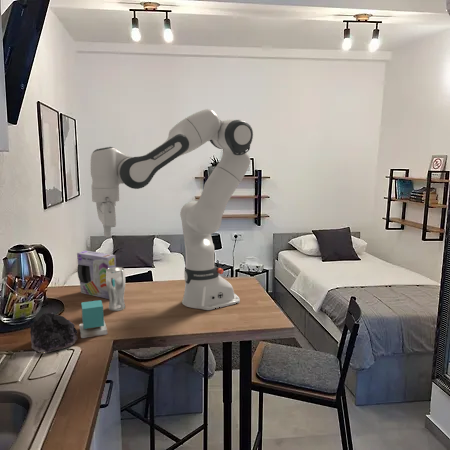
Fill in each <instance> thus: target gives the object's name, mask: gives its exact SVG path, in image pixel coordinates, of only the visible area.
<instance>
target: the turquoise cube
mask: <svg viewBox="0 0 450 450" xmlns="http://www.w3.org/2000/svg"><path fill="white" fill-rule="evenodd" d="M80 304H81V320H82V324H83V328H84V329H87V328H94V327H100V326H104V321H105V319H104V317H105V316H104V315H105V314H104V305H103V301H102V300H101V299H100V300H93V301H92V300H89V301H84V302H81V303H80Z"/></svg>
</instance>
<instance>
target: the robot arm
mask: <svg viewBox="0 0 450 450" xmlns="http://www.w3.org/2000/svg"><path fill="white" fill-rule="evenodd" d="M253 137H254V131H253V128H252V127H251V125H250V124H249V123H248V122H246V121H245V120H242V119H227V120H225V119H224V120H221V118H219V116H218V113H216V112H215V111H214V110H212V109H209V108H205V109H202V110H199V111H196V112H195V113H193V114H191V115H189V116H187V117H185V118H183V119H182V120H180V121H179V122H177V124H175V125H174V126H173V127H172V128H171V129H170V130H169V132H168V137H167V139H166V140H165V141H164V142H163V143H162V144H160V145H158V146H157V147H156V148H154V149H152V150H151V151H149V152H148V153H147V154H144V155H141V156H130V155H129V154H128V155H127V154H126V153H123V152H121V151H119V150H118V149H116V148H115V147H113V146H107V147H101V148H96V149H95V150H93V151H92V153H91V155H90V177H91V179H92V181H91V182H92V184H91V202H93V203H95V204H96V211H97V217H98V220H99V221H100V222H101V224H102V226H103V233H104V236H105V238H111V234H112V231H111V230H112V228H115V227H116V226H117V219H116V217H117V216H116V204H117V202H120V186H119V185H121V184H122V185H125V186H126V187H128V188H131V189H135V190H139V189H142V188H143V189H144V187H146V186H148V184H150V182H151V181H152V180H153V178H154V176H155V175H156V174H157V172H158V171H160V170H161V169H162V168H164V167H165V166H167V165H168V164H169V163H171V162H173V161H175V160H176V159H177V158H178V157H181V156H184V155H185V154H186V155H187V154H189V153H190V152H192V151H195V150H197V149H198V148H200V147H201V146H203V145H204V144H206V143H207V142H210V143H211V144H212V145H213V147H215V148H217V149H220V150H222V156H221V158H220V160H219V162H218V163H217V165H216V166H215V167H214V169H213V170H212V172H211V173H210V175H209V176H208V178H207V180H206V181H205V182H204V185H203V190H202V192H201V194H200V196H199V199H198V200H197V201H196V200H192V201H189V202H187V203H185V204H184V205H182V206H181V209H180V214H179V216H180V220H181V227H182V235H183V240H184V246H185V247H184V248H185V249H184V250H185V267H184V274H183V275H184V282H185V283H184V284H185V286H184V291H183V297H182V301H181V303H182V305H184V307H188V308H192V309H199V310H204V311H212V310H215V308H216V309H219V307H220V308H223V307H227V306H232V305H236V303H237V304H240V302H241V301H240V300H241V299H240V297H239V296H238V295H237V294H236V293H235V291H234V287H233V285H232V284H231V283H230V282H229V281H228V280H227V279H225V278H223V276H222V275H223V274H224V271H225V270H224V269H223V268H221V267H217V266H216V265H215V244H214V243H213V238H212V234H214V233H216V232H218V231H219V229H220V228H221V226H222V219H223V215H224V213H225V210H226V208H227V205H228V203H229V201H230V199H231V198H232V197H233V194H234V193H235V191H236V190H237V188H238V186H239V185H240V184H241V182H242V180H243V179H244V178H245V176H246V174H247V172H248V169H249V166H250V165H251V157H250V155H249V153H248V152H249V151H250V149H251V144H252V142H253V139H254V138H253Z"/></svg>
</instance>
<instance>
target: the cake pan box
mask: <svg viewBox="0 0 450 450" xmlns="http://www.w3.org/2000/svg"><path fill="white" fill-rule="evenodd" d="M76 255H77V269H76V270H77V277H78V280H79V285H80V288H79V289H80V293H81V294H85V295H89V296H94V297H96V298H101V299H102V298H103V299H106V300H109V295H108V291H107V286H106V269H108V268H112V267H117V261H116V255H115V254H109V253H104V252H100V251H99V252H98V251H91V250H83V251H79V252H77V253H76Z"/></svg>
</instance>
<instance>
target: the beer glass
mask: <svg viewBox="0 0 450 450" xmlns="http://www.w3.org/2000/svg"><path fill="white" fill-rule="evenodd" d="M106 286H107V291H108V295H109V299H108V310H109V311H112V312H119V311H123V310H125V309H126V303H125V298H124V297H125V290H126V273H125V268H124V267H120V266H116V267H112V268H108V269H106Z"/></svg>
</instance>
